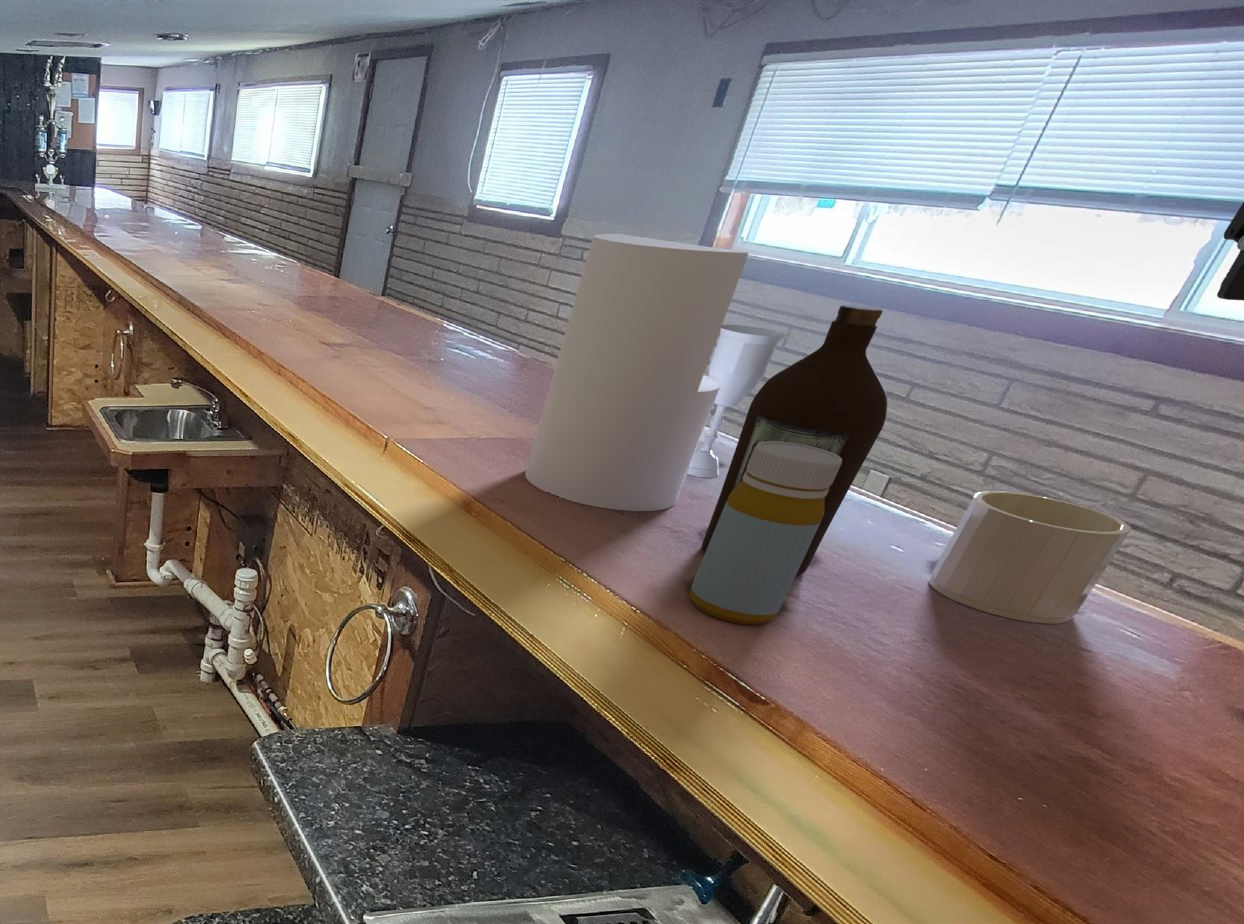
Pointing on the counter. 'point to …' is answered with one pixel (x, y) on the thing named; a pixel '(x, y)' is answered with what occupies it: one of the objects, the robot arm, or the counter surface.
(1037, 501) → the cream round pot
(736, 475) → the olive oil
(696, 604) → the bottle
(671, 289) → the cylinder
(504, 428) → the counter surface
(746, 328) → the chalice
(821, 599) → the counter surface
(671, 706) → the counter surface
